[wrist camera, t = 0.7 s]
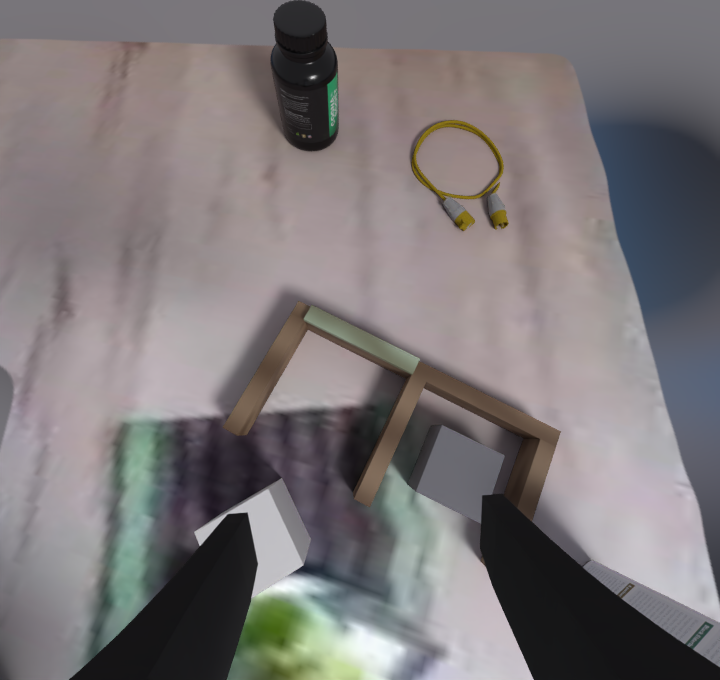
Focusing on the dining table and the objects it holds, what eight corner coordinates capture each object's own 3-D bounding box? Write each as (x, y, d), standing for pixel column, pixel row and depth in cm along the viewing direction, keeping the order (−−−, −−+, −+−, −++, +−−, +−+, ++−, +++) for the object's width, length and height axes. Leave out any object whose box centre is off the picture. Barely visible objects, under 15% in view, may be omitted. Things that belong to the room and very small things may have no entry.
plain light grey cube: (222, 512, 31) (193, 531, 25) (282, 477, 32) (268, 488, 26) (250, 578, 29) (227, 614, 23) (311, 539, 30) (303, 565, 24)
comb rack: (495, 569, 30) (515, 587, 27) (233, 427, 32) (220, 427, 29) (542, 430, 34) (565, 431, 30) (302, 310, 36) (298, 298, 32)
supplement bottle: (348, 140, 42) (350, 29, 30) (300, 161, 41) (283, 55, 29) (322, 102, 43) (314, -17, 32) (274, 122, 42) (248, 5, 31)
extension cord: (402, 224, 40) (405, 213, 38) (417, 121, 44) (420, 107, 42) (502, 241, 40) (510, 232, 38) (508, 137, 44) (516, 123, 42)
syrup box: (544, 597, 30) (722, 744, 16) (591, 555, 31) (796, 659, 17) (587, 661, 29) (819, 880, 15) (634, 615, 30) (892, 779, 16)
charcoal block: (465, 513, 32) (482, 524, 28) (407, 484, 32) (415, 491, 28) (485, 452, 33) (505, 455, 29) (430, 425, 34) (442, 425, 30)
